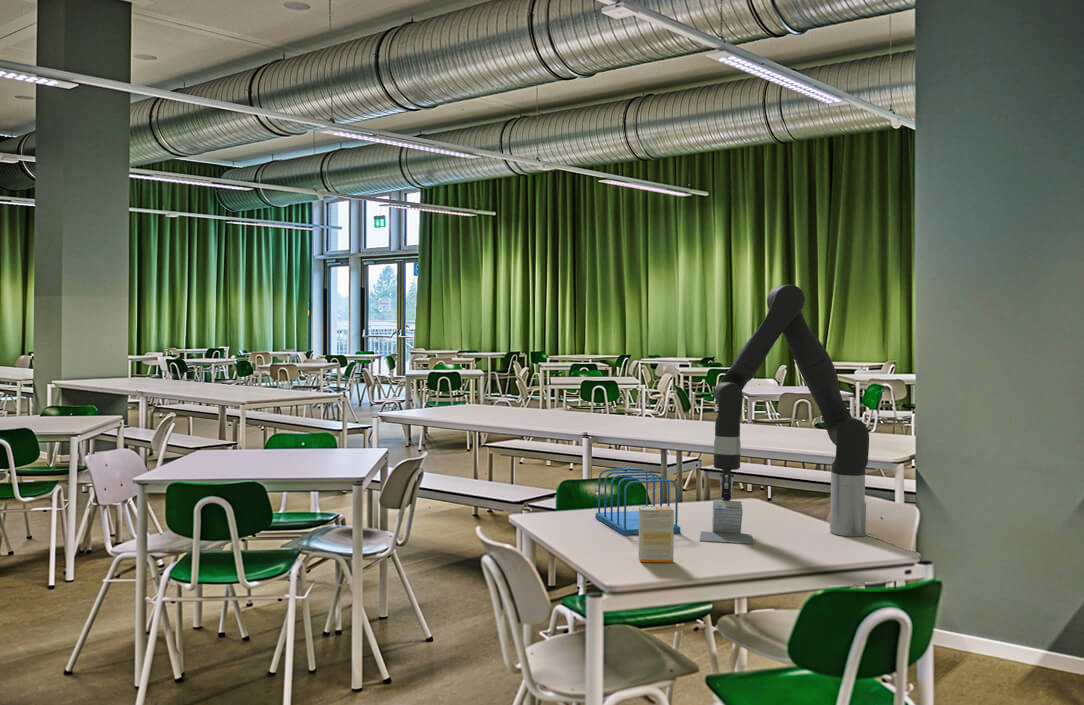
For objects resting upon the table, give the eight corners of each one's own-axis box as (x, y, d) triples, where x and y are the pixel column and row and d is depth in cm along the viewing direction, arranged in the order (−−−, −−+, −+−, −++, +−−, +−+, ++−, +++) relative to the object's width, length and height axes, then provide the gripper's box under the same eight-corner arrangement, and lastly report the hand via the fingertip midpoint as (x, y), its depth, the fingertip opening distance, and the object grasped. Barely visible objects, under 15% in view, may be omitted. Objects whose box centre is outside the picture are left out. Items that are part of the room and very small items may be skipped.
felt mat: (751, 535, 246) (751, 534, 246) (752, 544, 235) (752, 543, 235) (700, 532, 249) (700, 531, 249) (699, 541, 237) (699, 540, 237)
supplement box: (671, 558, 217) (672, 505, 217) (673, 563, 212) (674, 509, 212) (637, 558, 217) (638, 505, 217) (639, 562, 212) (640, 508, 212)
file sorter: (594, 518, 268) (595, 468, 268) (648, 516, 272) (648, 467, 272) (623, 536, 243) (623, 480, 243) (680, 533, 248) (681, 479, 248)
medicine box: (739, 523, 251) (741, 500, 247) (740, 534, 248) (742, 511, 243) (711, 522, 252) (713, 499, 248) (712, 533, 249) (714, 509, 244)
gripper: (740, 455, 243) (739, 517, 244) (740, 450, 256) (739, 509, 256) (713, 453, 245) (712, 515, 245) (714, 448, 258) (713, 507, 258)
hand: (725, 512), depth 251 cm, fingers closed
